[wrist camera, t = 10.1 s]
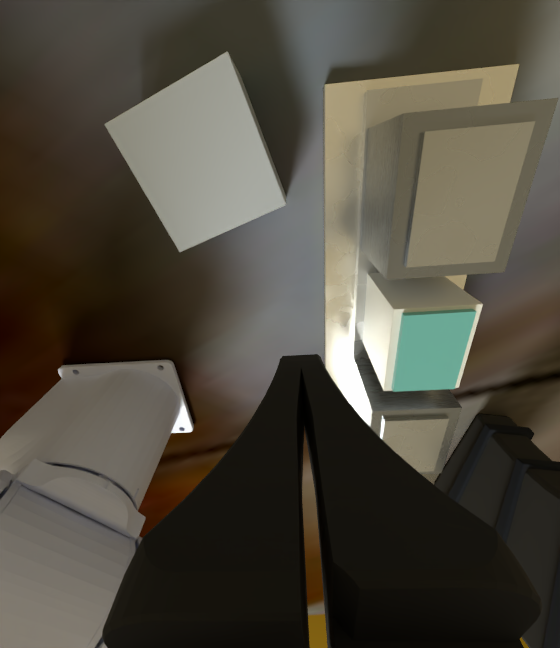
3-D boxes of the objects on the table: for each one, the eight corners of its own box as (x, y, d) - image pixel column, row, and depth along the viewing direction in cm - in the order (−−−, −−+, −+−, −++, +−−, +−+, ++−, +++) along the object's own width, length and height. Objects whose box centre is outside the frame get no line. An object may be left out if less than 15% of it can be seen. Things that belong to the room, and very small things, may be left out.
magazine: (424, 517, 31) (569, 720, 16) (442, 396, 30) (614, 489, 15) (458, 520, 31) (635, 724, 16) (477, 400, 30) (683, 495, 15)
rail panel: (324, 422, 26) (335, 496, 20) (322, 88, 15) (347, 37, 9) (426, 418, 26) (467, 493, 20) (507, 68, 14) (667, 1, 8)
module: (362, 341, 20) (385, 394, 16) (367, 273, 18) (396, 312, 13) (421, 338, 20) (461, 391, 15) (434, 268, 18) (486, 307, 13)
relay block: (200, 235, 19) (179, 252, 15) (144, 132, 16) (104, 124, 12) (286, 196, 17) (286, 204, 14) (241, 77, 15) (227, 51, 11)
